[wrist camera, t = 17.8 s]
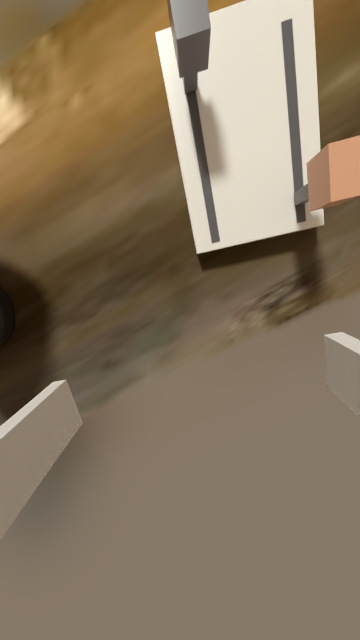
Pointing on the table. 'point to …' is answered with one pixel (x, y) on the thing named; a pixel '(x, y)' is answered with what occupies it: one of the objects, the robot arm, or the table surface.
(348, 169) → the fader
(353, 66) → the table surface
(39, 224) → the table surface
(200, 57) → the fader
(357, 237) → the table surface
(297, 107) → the fader panel
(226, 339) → the table surface
